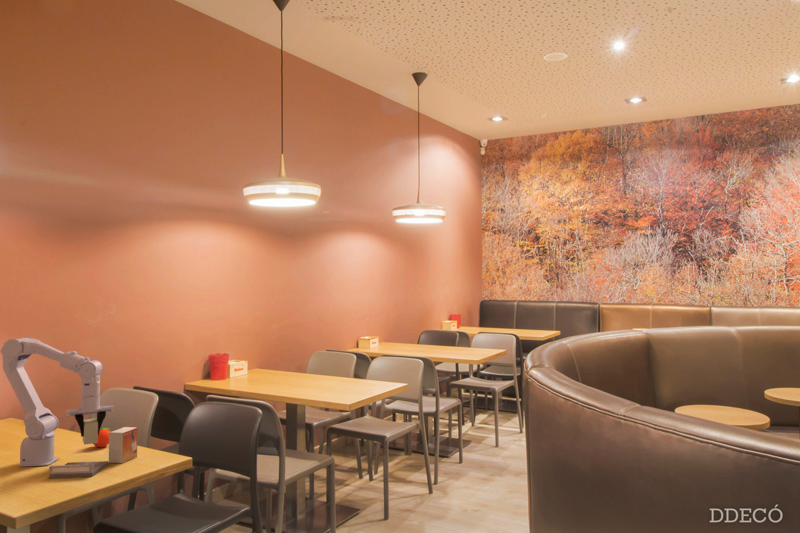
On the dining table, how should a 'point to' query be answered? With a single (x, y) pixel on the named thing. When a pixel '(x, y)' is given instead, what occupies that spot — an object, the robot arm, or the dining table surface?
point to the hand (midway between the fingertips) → (90, 434)
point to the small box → (123, 444)
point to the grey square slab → (76, 469)
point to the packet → (90, 431)
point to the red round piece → (103, 437)
